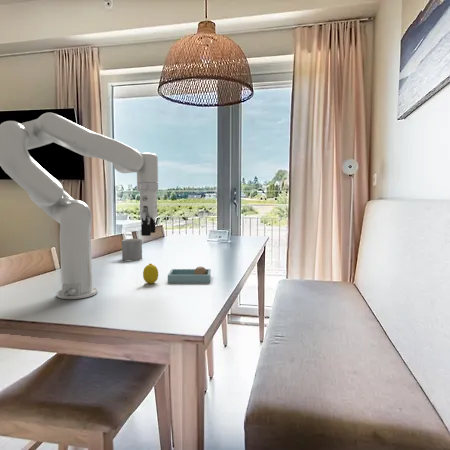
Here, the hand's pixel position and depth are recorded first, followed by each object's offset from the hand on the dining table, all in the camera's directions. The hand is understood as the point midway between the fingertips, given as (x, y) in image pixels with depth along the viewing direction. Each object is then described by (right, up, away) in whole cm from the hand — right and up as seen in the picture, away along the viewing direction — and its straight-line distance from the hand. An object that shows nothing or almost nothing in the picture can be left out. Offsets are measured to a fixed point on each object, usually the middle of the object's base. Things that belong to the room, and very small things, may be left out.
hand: (148, 234), depth 136 cm
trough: (+15, -18, +6) cm, 24 cm away
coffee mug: (-20, -14, +56) cm, 61 cm away
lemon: (+1, -19, 0) cm, 19 cm away
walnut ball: (+19, -18, +6) cm, 26 cm away
